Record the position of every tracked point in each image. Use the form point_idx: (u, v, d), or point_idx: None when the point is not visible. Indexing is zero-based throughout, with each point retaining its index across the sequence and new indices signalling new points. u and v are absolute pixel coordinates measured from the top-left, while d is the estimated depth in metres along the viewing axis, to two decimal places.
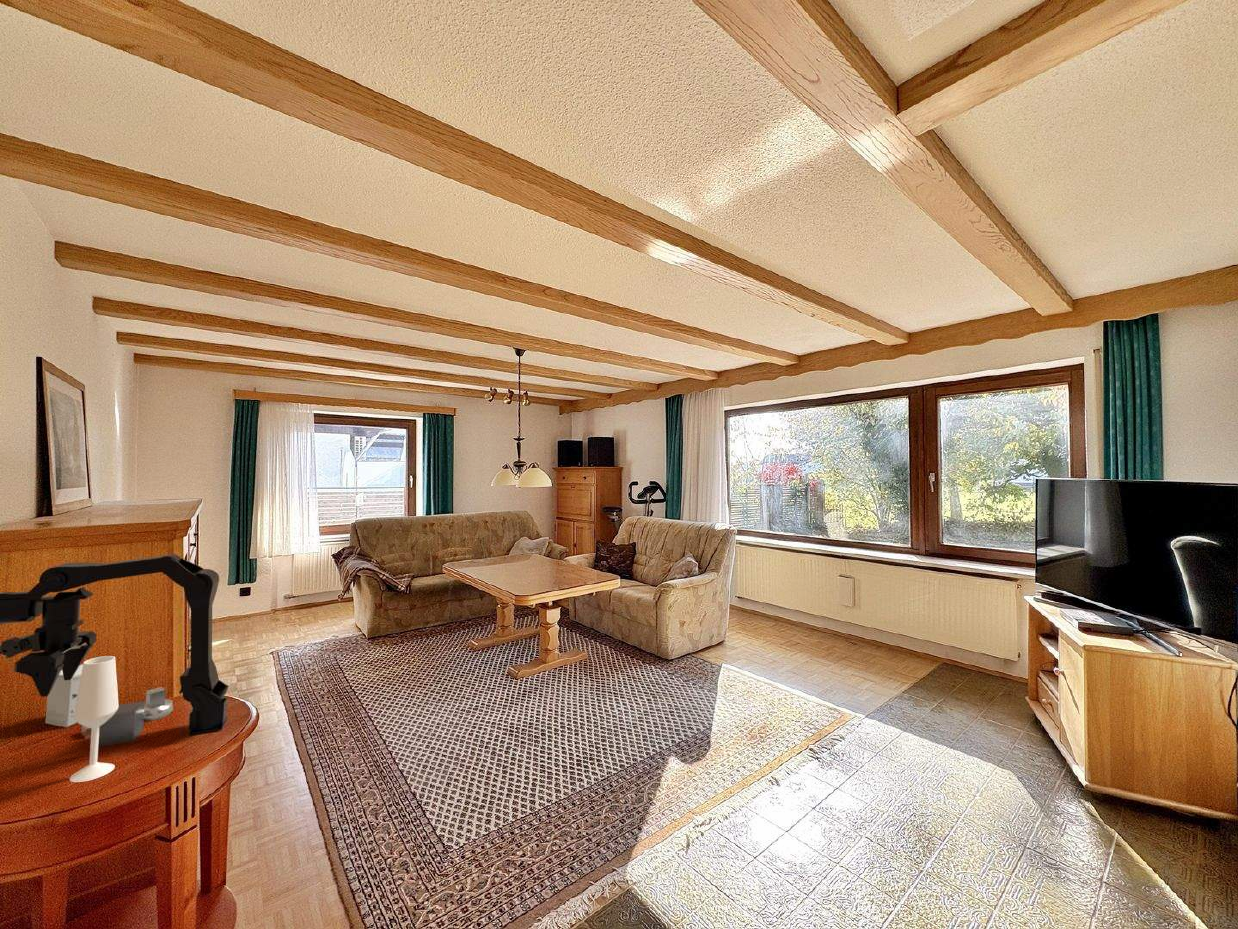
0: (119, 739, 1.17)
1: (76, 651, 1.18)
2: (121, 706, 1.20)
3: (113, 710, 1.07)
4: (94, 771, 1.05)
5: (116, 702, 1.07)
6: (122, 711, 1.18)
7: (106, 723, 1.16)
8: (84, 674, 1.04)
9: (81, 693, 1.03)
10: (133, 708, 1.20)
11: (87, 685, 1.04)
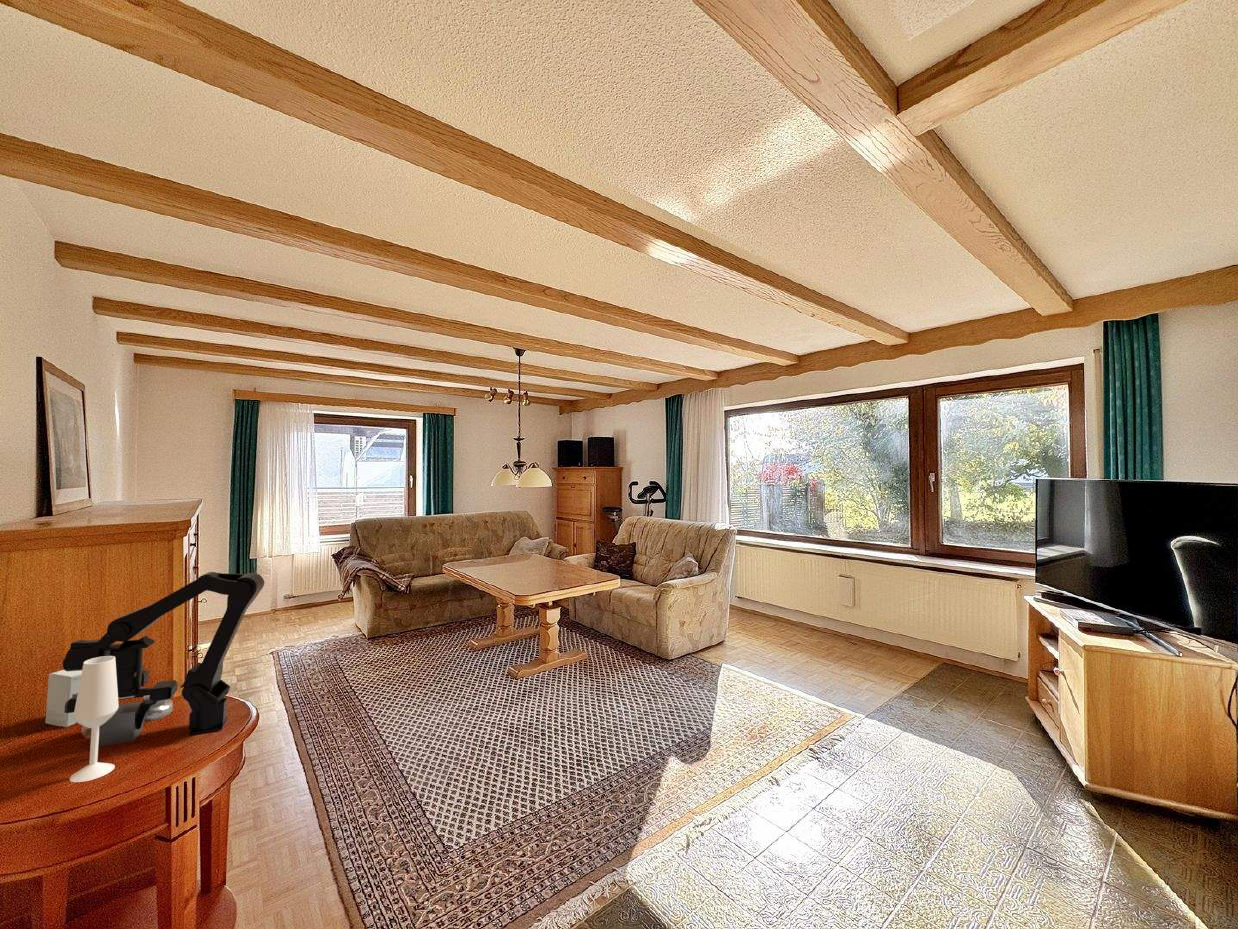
0: (119, 739, 1.17)
1: None
2: (121, 706, 1.20)
3: (114, 710, 1.07)
4: (94, 771, 1.05)
5: (116, 702, 1.07)
6: (122, 711, 1.18)
7: (106, 723, 1.16)
8: (84, 674, 1.04)
9: (81, 693, 1.03)
10: (133, 708, 1.20)
11: (87, 685, 1.04)
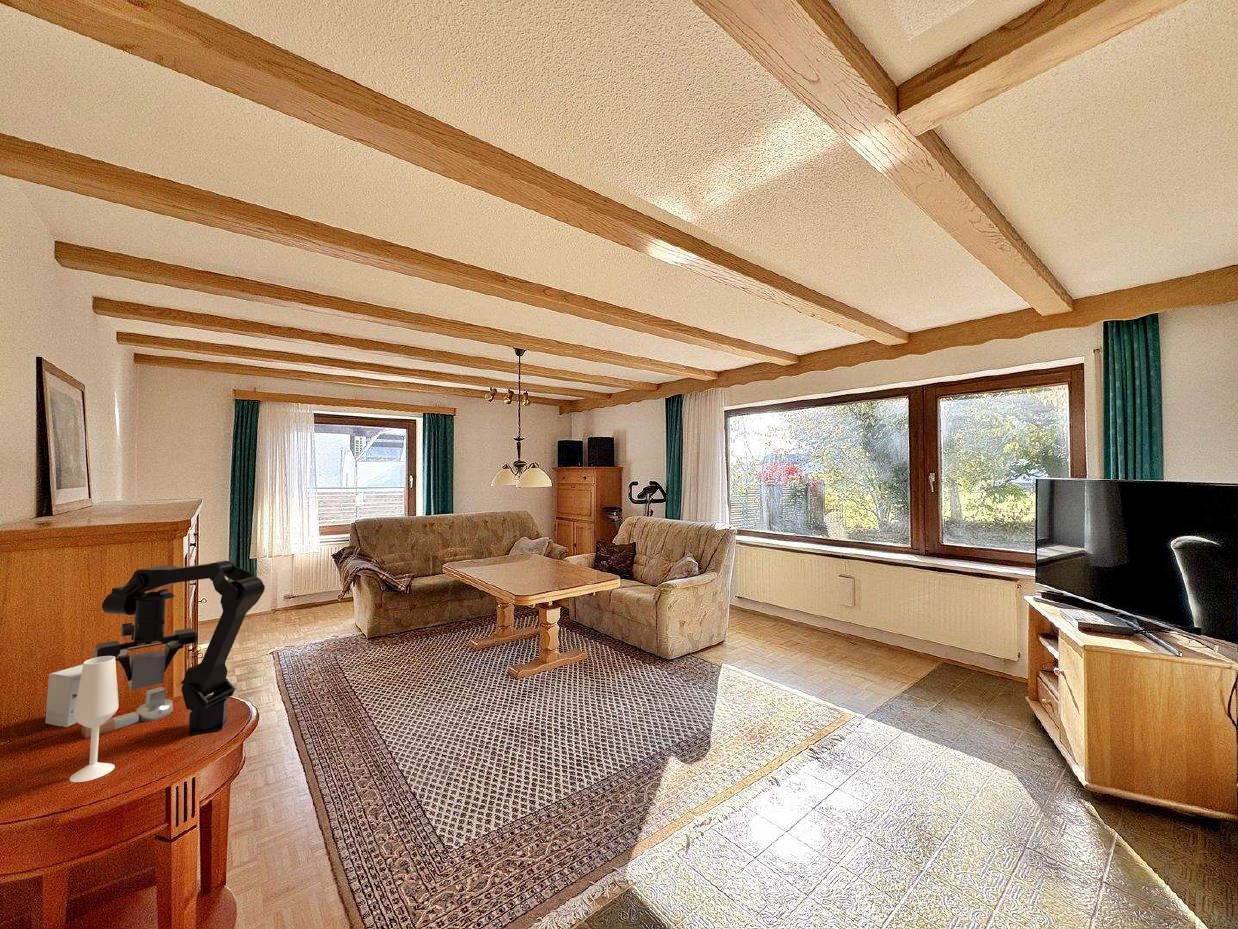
0: (150, 682, 1.25)
1: (167, 649, 1.29)
2: (142, 654, 1.27)
3: (113, 710, 1.07)
4: (94, 771, 1.05)
5: (116, 702, 1.07)
6: (149, 656, 1.26)
7: (138, 667, 1.24)
8: (84, 674, 1.04)
9: (81, 693, 1.03)
10: (159, 654, 1.28)
11: (87, 685, 1.04)
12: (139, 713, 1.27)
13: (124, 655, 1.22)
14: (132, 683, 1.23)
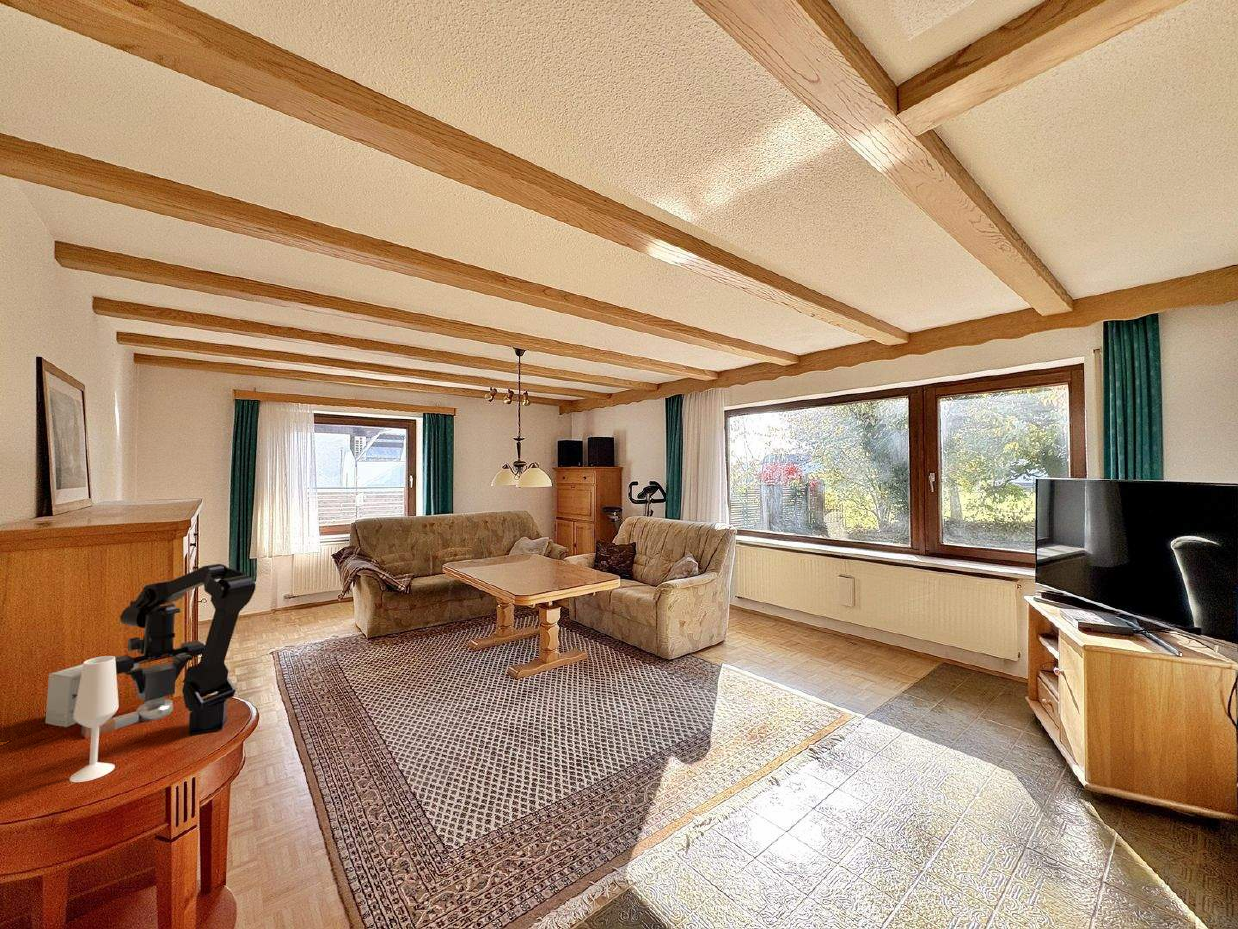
0: (162, 693, 1.29)
1: (176, 661, 1.33)
2: (151, 667, 1.31)
3: (113, 710, 1.07)
4: (94, 771, 1.05)
5: (116, 702, 1.07)
6: (160, 669, 1.30)
7: (151, 680, 1.27)
8: (84, 674, 1.04)
9: (81, 693, 1.03)
10: (169, 666, 1.32)
11: (87, 685, 1.04)
12: (139, 713, 1.27)
13: (137, 669, 1.26)
14: (145, 695, 1.27)
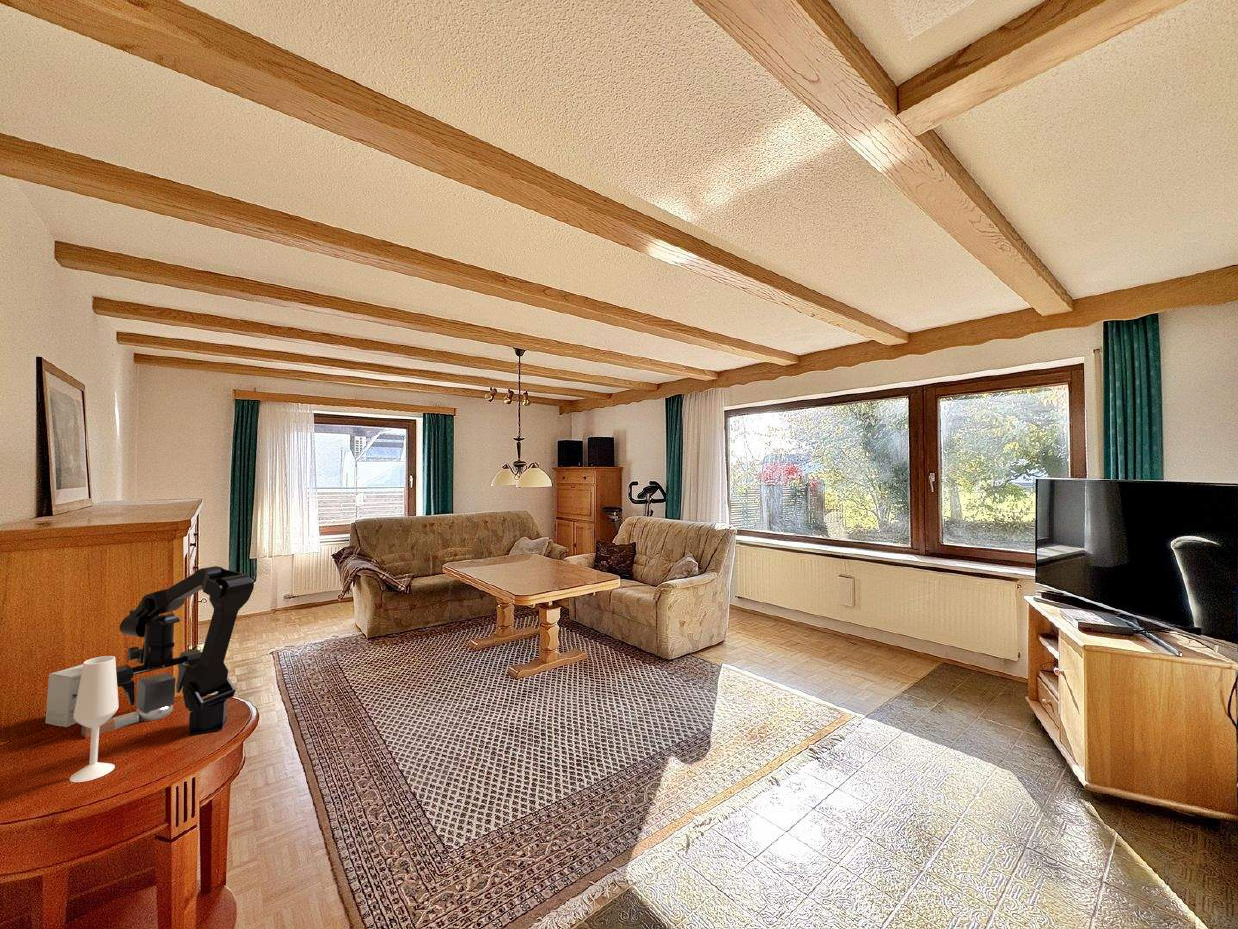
0: (161, 704, 1.29)
1: (182, 668, 1.34)
2: (150, 678, 1.31)
3: (113, 710, 1.07)
4: (94, 771, 1.05)
5: (116, 702, 1.07)
6: (160, 680, 1.30)
7: (150, 691, 1.27)
8: (84, 674, 1.04)
9: (81, 693, 1.03)
10: (168, 677, 1.32)
11: (87, 685, 1.04)
12: (139, 713, 1.27)
13: (128, 680, 1.25)
14: (144, 706, 1.27)
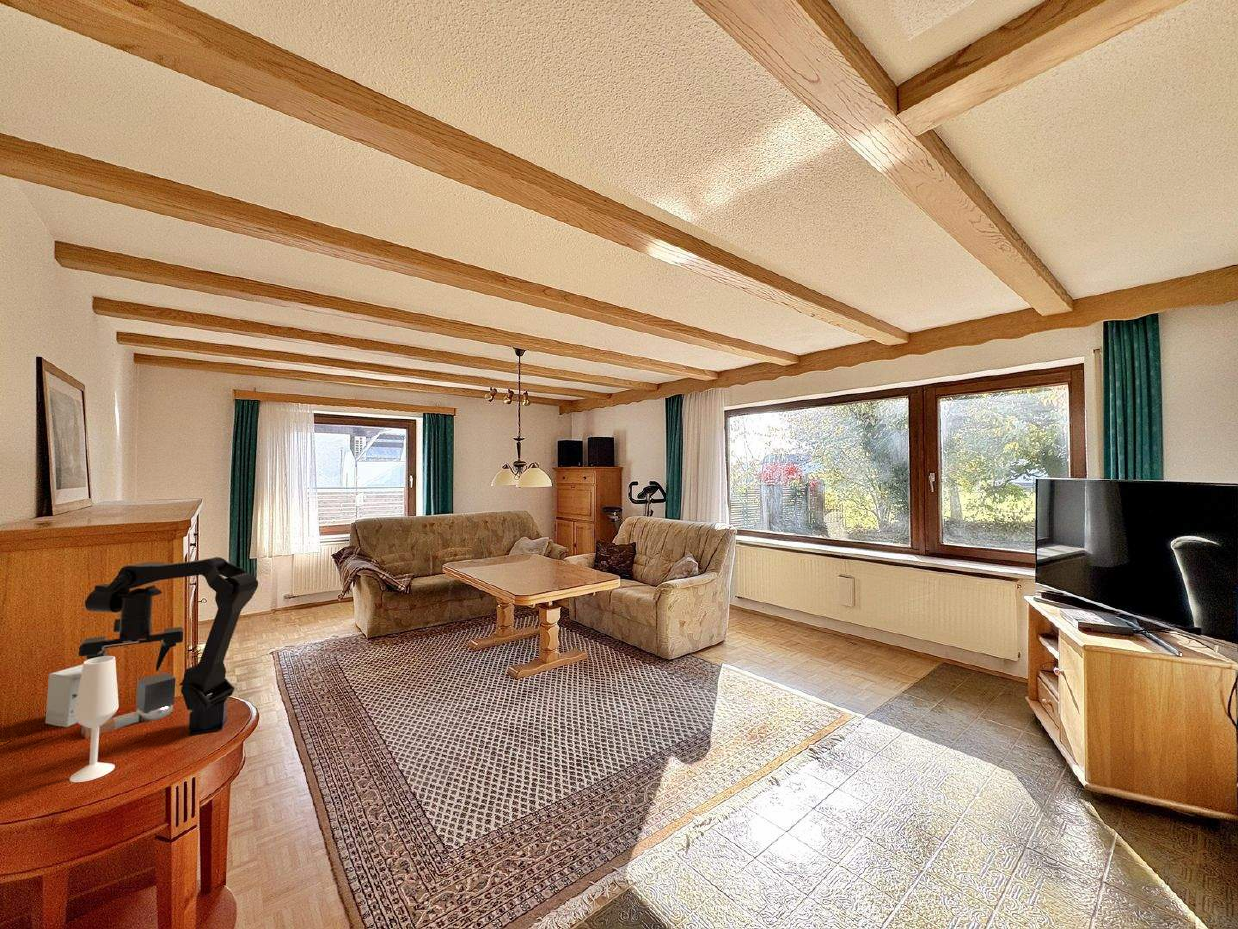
0: (161, 704, 1.29)
1: None
2: (150, 678, 1.31)
3: (113, 710, 1.07)
4: (94, 771, 1.05)
5: (116, 702, 1.07)
6: (160, 680, 1.30)
7: (150, 691, 1.27)
8: (84, 674, 1.04)
9: (81, 693, 1.03)
10: (168, 677, 1.32)
11: (87, 685, 1.04)
12: (139, 713, 1.27)
13: (99, 653, 1.20)
14: (144, 706, 1.27)
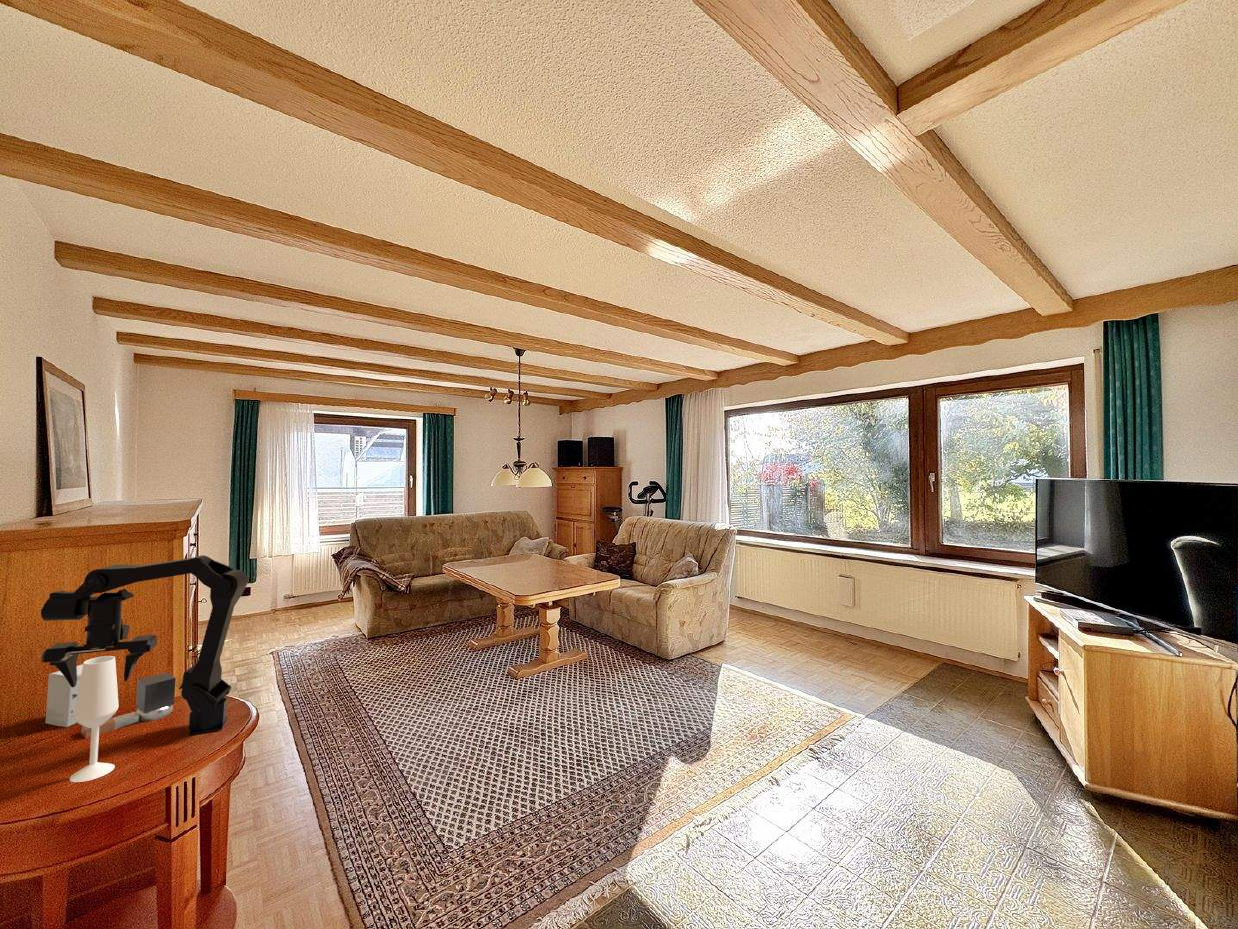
0: (161, 704, 1.29)
1: None
2: (150, 678, 1.31)
3: (113, 710, 1.07)
4: (94, 771, 1.05)
5: (116, 702, 1.07)
6: (160, 680, 1.30)
7: (150, 691, 1.27)
8: (84, 674, 1.04)
9: (81, 693, 1.03)
10: (168, 677, 1.32)
11: (87, 685, 1.04)
12: (139, 713, 1.27)
13: (62, 660, 1.15)
14: (144, 706, 1.27)
